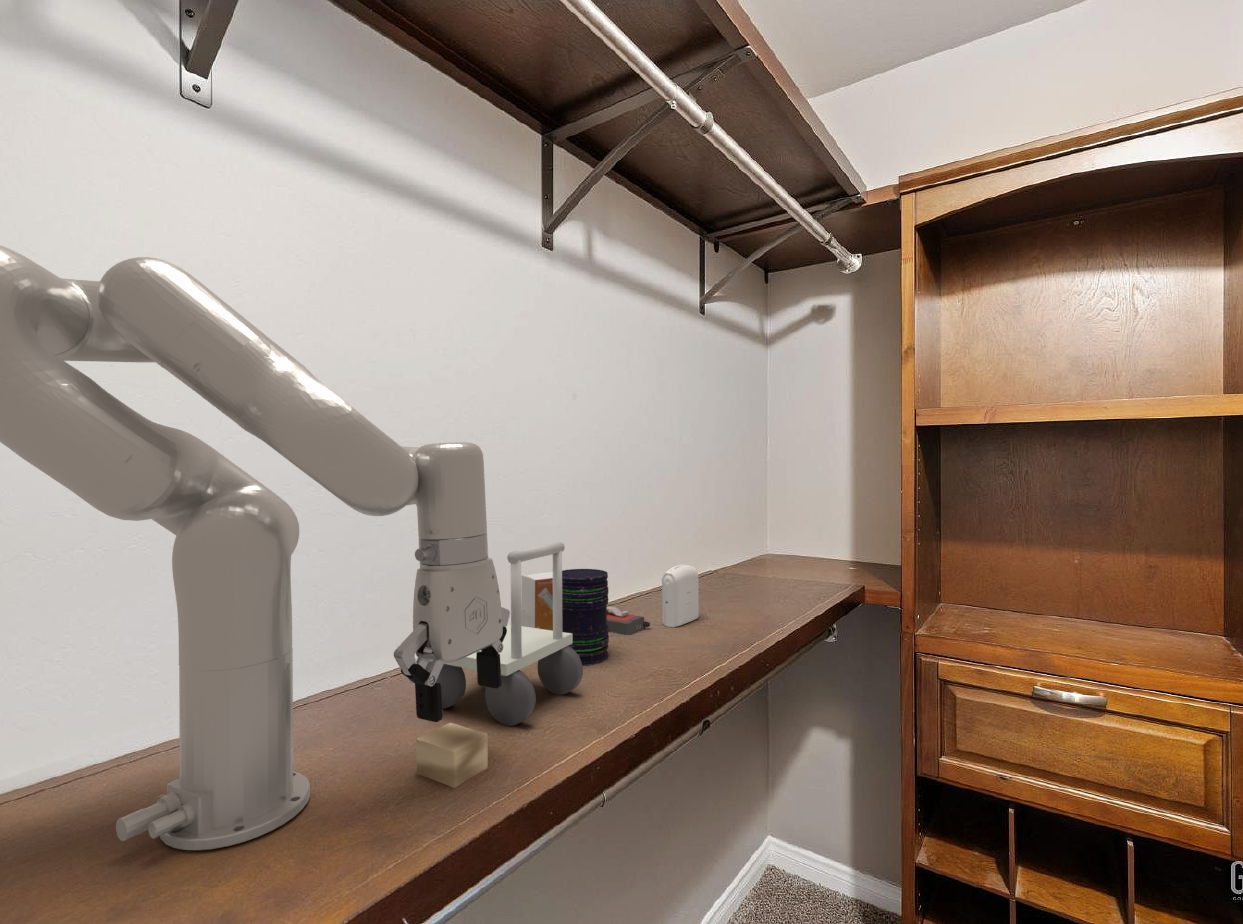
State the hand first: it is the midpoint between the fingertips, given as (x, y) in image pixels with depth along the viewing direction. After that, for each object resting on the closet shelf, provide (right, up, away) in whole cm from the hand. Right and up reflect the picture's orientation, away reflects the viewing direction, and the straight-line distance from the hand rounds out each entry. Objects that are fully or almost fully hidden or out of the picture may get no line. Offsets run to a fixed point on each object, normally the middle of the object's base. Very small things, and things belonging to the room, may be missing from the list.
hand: (461, 701), depth 69 cm
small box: (+4, -8, +49) cm, 50 cm away
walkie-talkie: (+15, -8, +61) cm, 64 cm away
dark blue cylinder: (+11, -8, +40) cm, 42 cm away
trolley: (+1, -8, +20) cm, 21 cm away
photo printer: (+31, -8, +63) cm, 71 cm away
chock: (-1, -8, 0) cm, 8 cm away
